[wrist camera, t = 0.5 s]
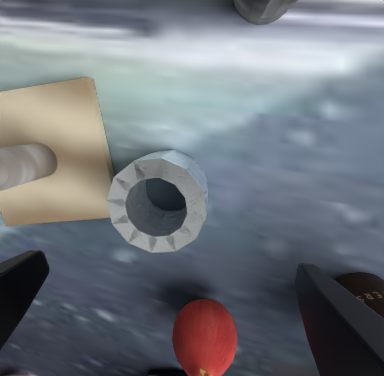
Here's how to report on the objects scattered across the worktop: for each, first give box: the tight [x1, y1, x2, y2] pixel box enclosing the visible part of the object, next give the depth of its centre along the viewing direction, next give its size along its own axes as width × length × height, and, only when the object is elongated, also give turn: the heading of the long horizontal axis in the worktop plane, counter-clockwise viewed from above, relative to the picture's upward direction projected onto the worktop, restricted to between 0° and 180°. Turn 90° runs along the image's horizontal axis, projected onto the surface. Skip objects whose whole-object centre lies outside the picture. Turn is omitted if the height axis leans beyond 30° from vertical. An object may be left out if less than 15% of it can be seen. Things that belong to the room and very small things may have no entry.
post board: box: [0, 77, 115, 226], centre depth 18 cm, size 12×12×6 cm
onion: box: [172, 299, 237, 376], centre depth 20 cm, size 6×6×8 cm
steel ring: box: [107, 150, 208, 253], centre depth 18 cm, size 7×7×5 cm
